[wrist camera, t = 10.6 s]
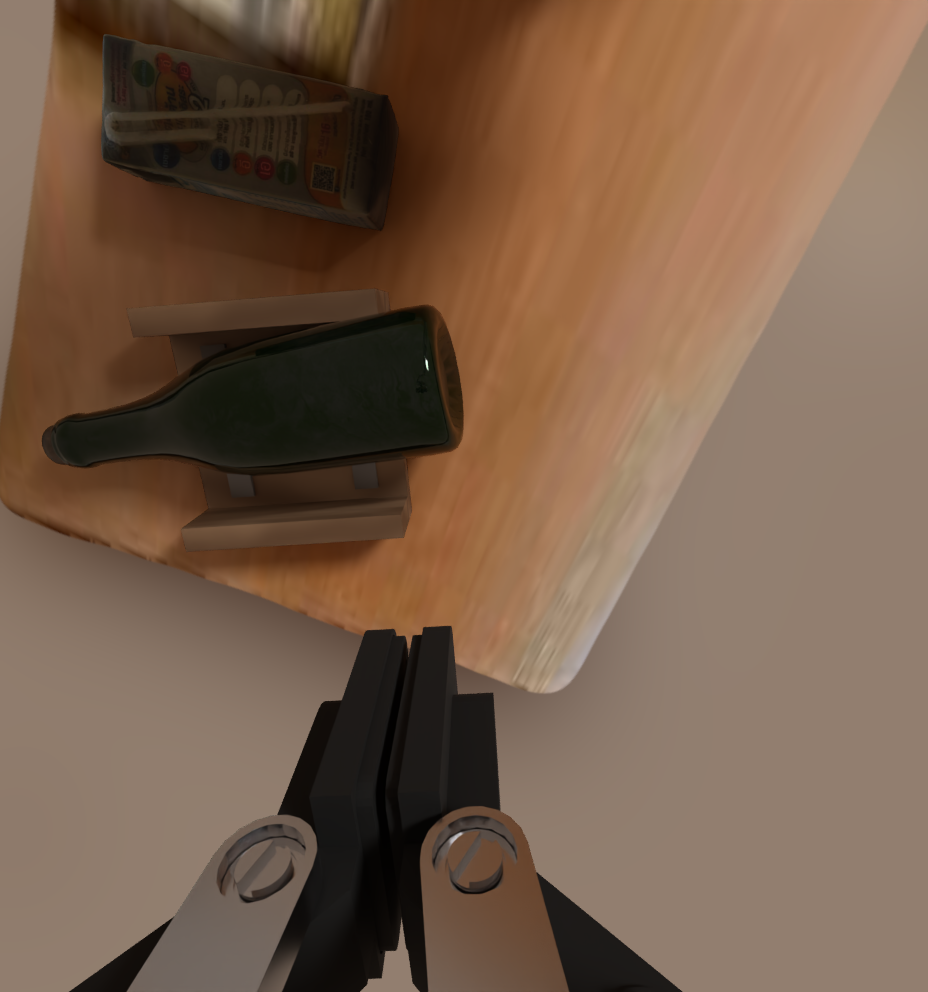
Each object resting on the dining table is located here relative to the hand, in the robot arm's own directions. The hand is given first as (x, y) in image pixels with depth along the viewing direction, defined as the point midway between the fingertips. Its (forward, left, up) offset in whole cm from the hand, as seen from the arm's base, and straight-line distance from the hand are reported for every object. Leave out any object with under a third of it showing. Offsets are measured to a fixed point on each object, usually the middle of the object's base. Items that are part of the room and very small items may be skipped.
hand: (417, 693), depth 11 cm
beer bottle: (-3, 0, -31) cm, 31 cm away
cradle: (0, -14, -39) cm, 41 cm away
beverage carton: (-20, -13, -40) cm, 46 cm away
